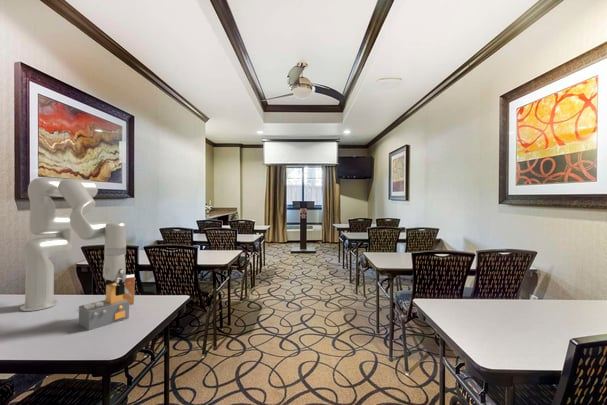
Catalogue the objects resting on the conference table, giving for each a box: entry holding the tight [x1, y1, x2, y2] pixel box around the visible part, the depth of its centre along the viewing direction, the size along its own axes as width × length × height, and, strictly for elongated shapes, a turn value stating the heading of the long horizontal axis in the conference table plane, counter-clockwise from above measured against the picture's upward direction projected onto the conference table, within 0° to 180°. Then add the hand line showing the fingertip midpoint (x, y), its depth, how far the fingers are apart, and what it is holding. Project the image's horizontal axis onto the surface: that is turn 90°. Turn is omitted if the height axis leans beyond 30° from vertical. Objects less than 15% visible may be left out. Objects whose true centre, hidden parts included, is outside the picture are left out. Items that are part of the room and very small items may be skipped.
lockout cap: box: [105, 282, 123, 304], centre depth 116 cm, size 4×4×7 cm
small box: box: [114, 274, 136, 305], centre depth 133 cm, size 8×6×13 cm
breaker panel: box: [78, 299, 130, 331], centre depth 113 cm, size 11×14×8 cm
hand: (114, 292), depth 116 cm, fingers open, 9 cm apart
